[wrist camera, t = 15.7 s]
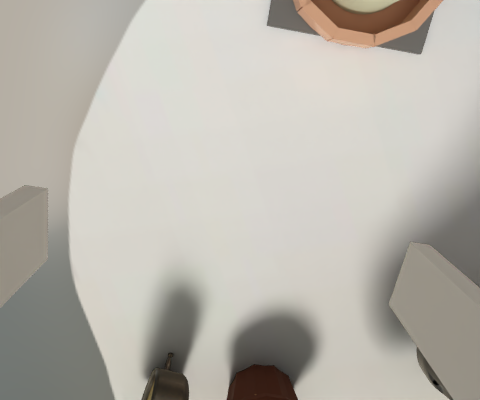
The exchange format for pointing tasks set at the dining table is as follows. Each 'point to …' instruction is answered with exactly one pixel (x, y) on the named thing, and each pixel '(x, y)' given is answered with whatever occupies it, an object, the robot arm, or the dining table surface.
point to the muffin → (261, 385)
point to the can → (364, 5)
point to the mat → (289, 19)
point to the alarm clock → (166, 384)
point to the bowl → (364, 21)
